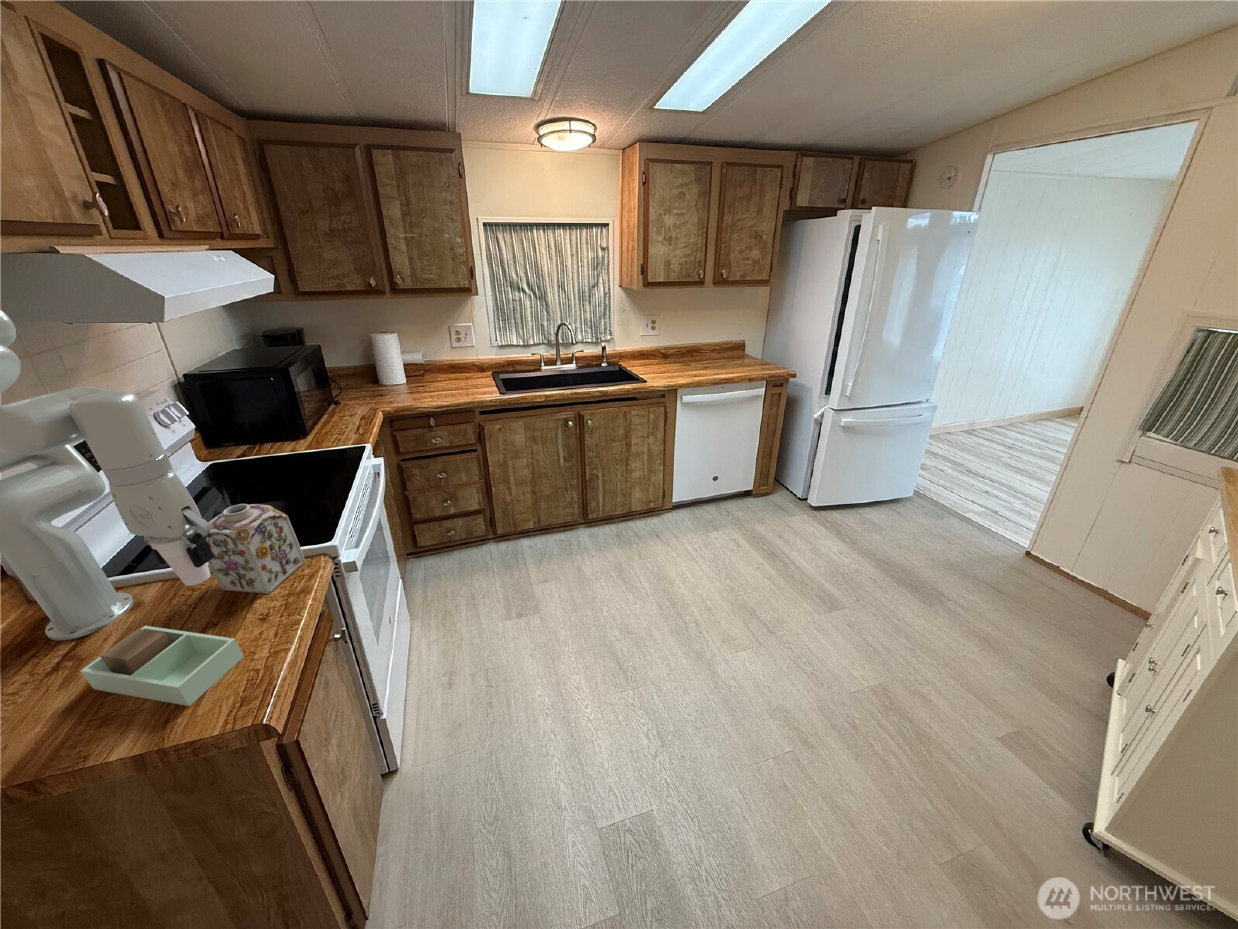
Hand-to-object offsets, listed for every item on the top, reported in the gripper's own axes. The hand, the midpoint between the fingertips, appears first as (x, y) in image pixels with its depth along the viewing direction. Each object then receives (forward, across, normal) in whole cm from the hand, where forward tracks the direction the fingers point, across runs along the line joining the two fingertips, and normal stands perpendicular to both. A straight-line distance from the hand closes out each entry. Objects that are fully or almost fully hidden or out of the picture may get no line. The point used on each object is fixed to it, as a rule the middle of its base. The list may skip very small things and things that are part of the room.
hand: (187, 560), depth 83 cm
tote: (+19, -2, -9) cm, 21 cm away
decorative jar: (+19, -8, +17) cm, 27 cm away
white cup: (+4, 0, 0) cm, 4 cm away
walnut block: (+18, -7, -9) cm, 21 cm away
